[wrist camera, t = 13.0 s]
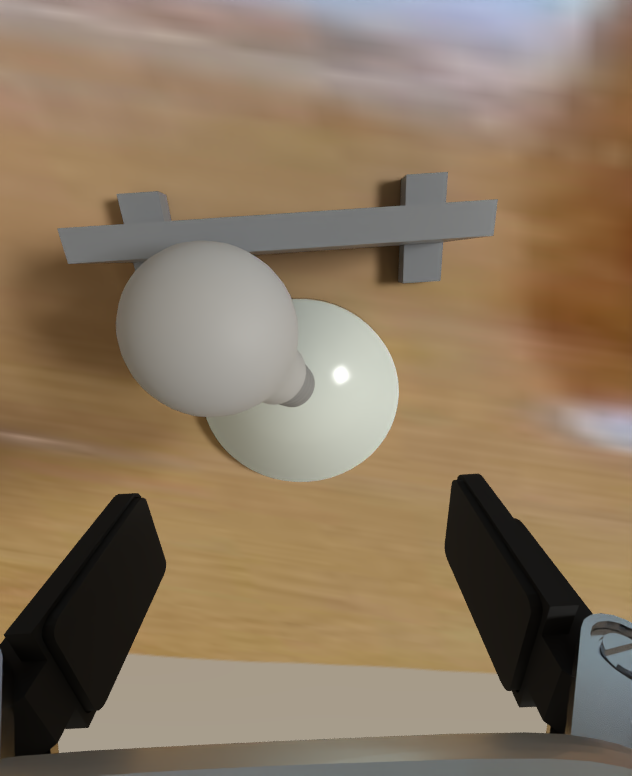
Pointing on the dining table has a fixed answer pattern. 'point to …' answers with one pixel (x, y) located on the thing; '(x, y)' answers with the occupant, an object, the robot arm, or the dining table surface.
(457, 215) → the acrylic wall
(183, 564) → the dining table surface
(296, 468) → the white round dome
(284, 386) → the lightbulb
